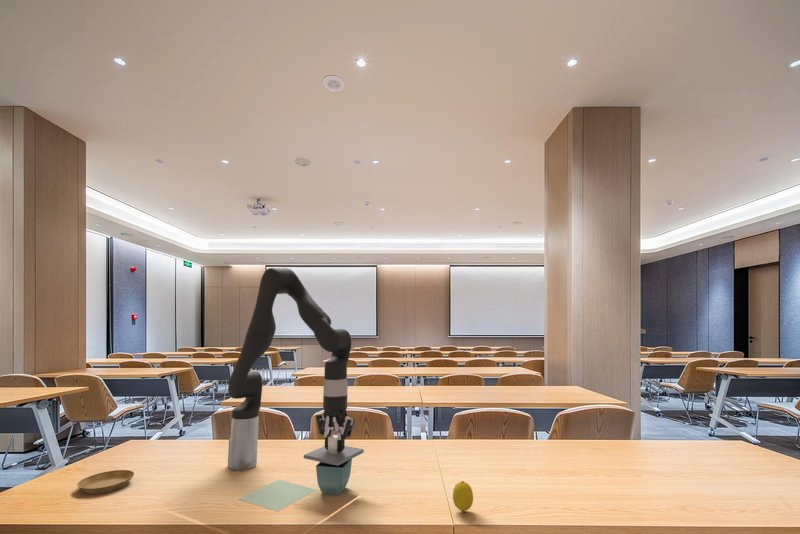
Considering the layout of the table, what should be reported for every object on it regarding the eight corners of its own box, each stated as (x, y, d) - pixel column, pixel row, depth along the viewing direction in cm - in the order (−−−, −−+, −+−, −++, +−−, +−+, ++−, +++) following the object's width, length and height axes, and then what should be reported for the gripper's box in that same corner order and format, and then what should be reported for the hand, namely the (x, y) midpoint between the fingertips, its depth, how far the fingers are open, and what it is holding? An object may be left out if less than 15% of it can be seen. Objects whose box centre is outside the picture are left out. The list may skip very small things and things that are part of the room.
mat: (237, 501, 116) (237, 498, 116) (279, 481, 130) (279, 479, 130) (277, 513, 108) (277, 511, 108) (316, 491, 122) (316, 489, 122)
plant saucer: (115, 496, 120) (116, 487, 120) (63, 498, 119) (64, 488, 119) (143, 477, 134) (143, 469, 135) (97, 478, 133) (98, 470, 134)
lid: (303, 458, 120) (304, 439, 121) (331, 446, 131) (331, 429, 132) (337, 465, 114) (338, 445, 115) (363, 452, 125) (363, 434, 126)
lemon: (451, 507, 111) (450, 477, 112) (470, 506, 111) (469, 476, 113) (455, 517, 106) (454, 485, 107) (475, 516, 106) (475, 484, 107)
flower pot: (342, 500, 116) (343, 467, 117) (314, 497, 118) (315, 465, 119) (352, 487, 125) (352, 457, 126) (325, 485, 126) (326, 455, 128)
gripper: (310, 393, 125) (308, 450, 123) (346, 397, 118) (345, 458, 116) (325, 389, 132) (324, 444, 129) (360, 393, 125) (360, 450, 123)
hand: (334, 450), depth 123 cm, fingers closed on lid, 4 cm apart
